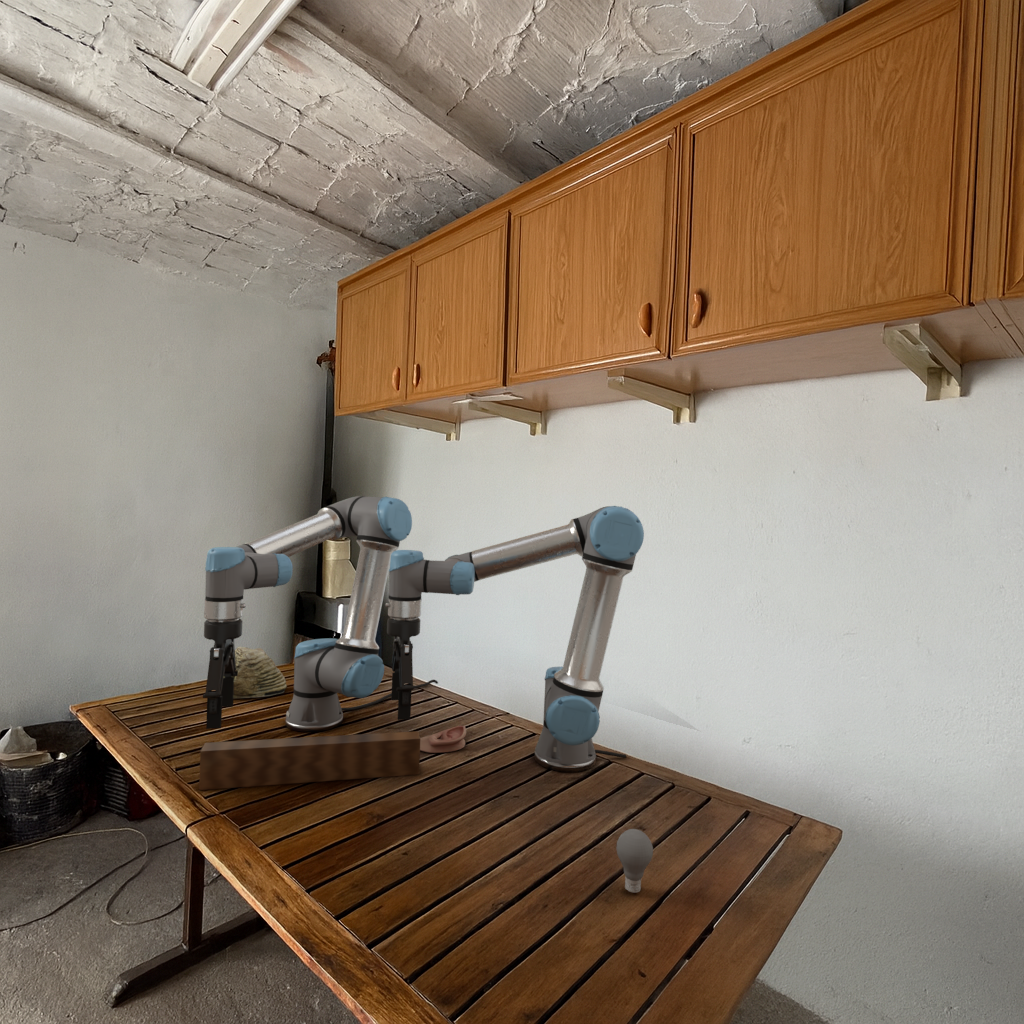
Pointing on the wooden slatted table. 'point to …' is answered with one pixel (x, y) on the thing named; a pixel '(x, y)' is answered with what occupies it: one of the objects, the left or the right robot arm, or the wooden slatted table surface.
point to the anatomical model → (444, 740)
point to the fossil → (256, 674)
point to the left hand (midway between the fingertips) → (220, 716)
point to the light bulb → (634, 857)
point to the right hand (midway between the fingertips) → (400, 709)
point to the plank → (308, 759)
